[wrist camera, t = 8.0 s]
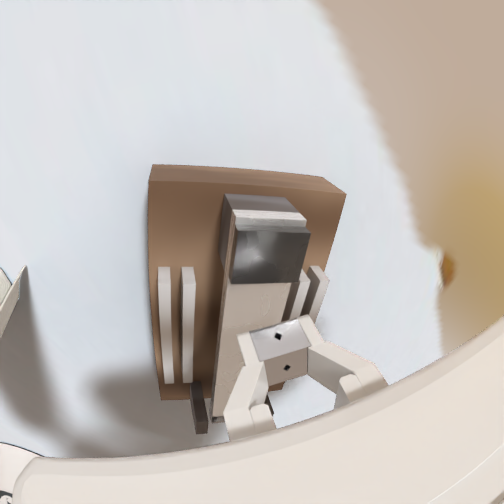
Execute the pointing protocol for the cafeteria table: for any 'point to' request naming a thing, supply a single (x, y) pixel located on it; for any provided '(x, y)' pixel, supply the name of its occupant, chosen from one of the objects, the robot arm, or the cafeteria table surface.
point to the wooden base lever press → (220, 262)
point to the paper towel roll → (7, 298)
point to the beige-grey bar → (254, 287)
